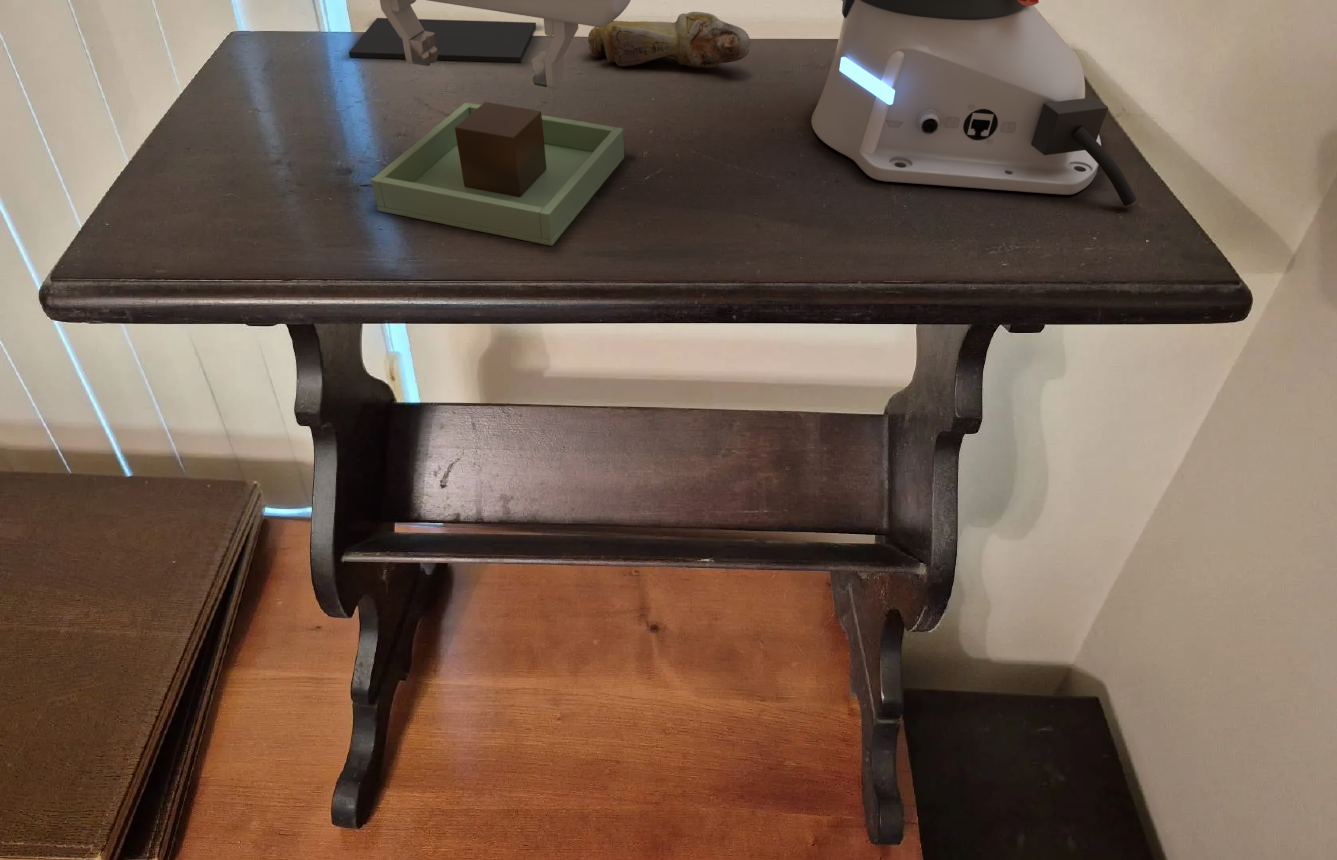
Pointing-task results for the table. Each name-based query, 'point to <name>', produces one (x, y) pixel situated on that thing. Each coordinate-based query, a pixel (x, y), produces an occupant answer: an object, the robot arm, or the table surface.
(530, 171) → the block
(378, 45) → the mat
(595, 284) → the table surface
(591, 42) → the figurine
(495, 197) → the tray
